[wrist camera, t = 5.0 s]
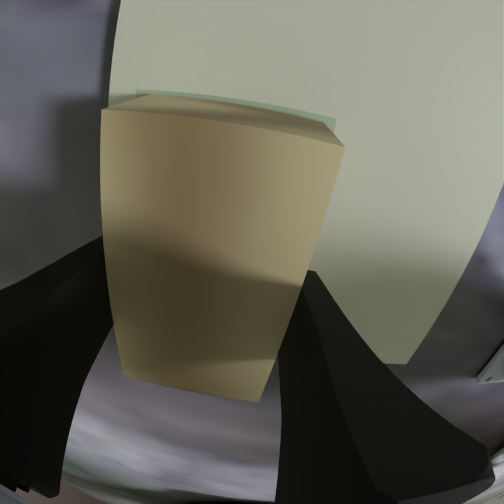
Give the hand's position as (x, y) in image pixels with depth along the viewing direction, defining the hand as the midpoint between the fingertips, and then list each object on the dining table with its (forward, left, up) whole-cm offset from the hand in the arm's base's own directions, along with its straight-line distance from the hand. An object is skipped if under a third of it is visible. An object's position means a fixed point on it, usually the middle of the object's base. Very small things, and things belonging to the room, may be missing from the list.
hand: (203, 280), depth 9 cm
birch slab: (0, 0, -2) cm, 2 cm away
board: (-3, -4, -3) cm, 6 cm away
